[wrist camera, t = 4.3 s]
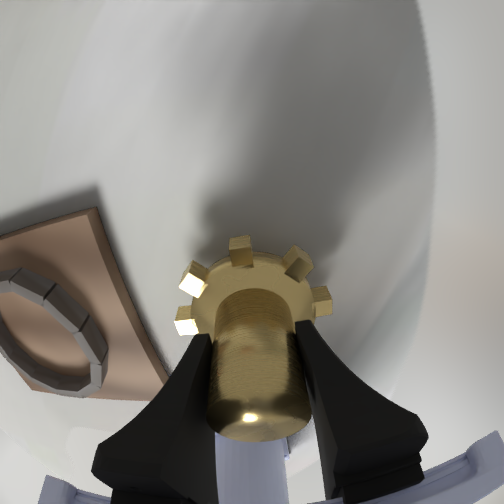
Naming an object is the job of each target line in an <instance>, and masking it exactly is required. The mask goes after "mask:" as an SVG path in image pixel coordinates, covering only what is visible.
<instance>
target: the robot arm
mask: <svg viewBox="0 0 504 504" xmlns="http://www.w3.org/2000/svg"><path fill="white" fill-rule="evenodd" d="M295 332H296V338H297V343H298V348H299V352H300V356H301V361H302V366H303V371H304V376H305V381H306V385H307V390H308V395H309V400H310V405H311V411H312V415H313V419H314V423H315V429H316V435H317V441H318V447H319V453H320V460H321V467H322V474H323V481H324V489H325V497H326V501H321V502H315V503H309V504H473V503H475V502H477V501H478V500H480V499H482V498H483V497H485V496H487V495H488V494H490V493H491V492H493V491H494V490H496V489H497V488H499V487H500V486H502V485H503V484H504V443H503V441H502V439H501V437H500V435H499V433H498V431H494V432H492V433H490V434H489V435H487V436H485V437H484V438H482V439H480V440H478V441H477V442H475V443H474V444H472V445H471V446H470V447H469V448H468V449H467V451H466V452H465V453H463V454H461V455H459V456H457V457H455V458H453V459H451V460H449V461H447V462H444V463H442V464H440V465H438V466H435V467H433V468H431V469H428V470H426V471H424V472H423V471H422V468H421V465H420V462H421V461H422V460H421V456H420V454H419V452H420V451H421V449H422V448H423V446H424V445H425V444H426V442H427V440H428V433H427V431H426V428H425V426H424V425H423V423H422V421H421V420H420V418H419V417H418V416H417V415H416V414H414V413H412V412H410V411H408V410H406V409H404V408H402V407H400V406H398V405H397V404H395V403H393V402H392V401H390V400H388V399H387V398H385V397H384V396H382V395H381V394H379V393H378V392H377V391H375V390H374V389H372V388H371V387H369V386H368V385H367V384H366V383H364V382H363V381H362V380H361V379H360V378H359V377H357V376H356V375H355V374H354V373H353V372H352V371H351V370H350V369H349V368H348V367H347V366H346V365H345V364H344V363H343V362H342V361H341V360H340V359H339V358H338V357H337V356H336V355H335V353H334V352H333V351H332V350H331V349H330V347H329V346H328V345H327V344H326V342H325V341H324V340H323V338H322V337H321V336H320V334H319V333H318V331H317V330H316V328H315V326H314V325H313V323H312V321H311V320H309V319H308V320H302V321H296V322H295ZM212 346H213V343H212V340H211V337H210V334H209V333H206V334H196V335H195V336H194V337H193V339H192V341H191V343H190V345H189V346H188V348H187V350H186V352H185V353H184V355H183V357H182V359H181V360H180V362H179V363H178V365H177V367H176V368H175V370H174V371H173V373H172V374H171V376H170V377H169V379H168V380H167V381H166V383H165V384H164V386H163V387H162V388H161V390H160V391H159V392H158V393H157V395H156V396H155V397H154V398H153V399H152V401H151V402H150V403H149V404H148V405H147V406H146V407H145V408H144V409H143V410H142V411H141V412H140V413H139V414H138V415H137V416H136V417H135V418H134V419H133V420H131V421H130V422H129V423H128V424H127V425H126V426H124V427H123V428H122V429H121V430H119V431H118V432H116V433H115V434H114V435H112V436H111V437H109V438H108V439H106V440H105V441H103V442H102V443H100V444H99V445H98V447H97V450H96V453H95V457H94V461H93V465H92V469H91V472H92V473H93V475H94V476H95V477H96V478H97V479H99V480H100V481H102V482H103V483H105V484H106V485H108V486H109V487H111V488H112V489H113V491H112V496H111V498H110V497H106V496H102V495H98V494H94V493H90V492H86V491H83V490H79V489H77V488H76V487H74V486H73V485H71V484H70V483H68V482H66V481H63V480H60V479H57V478H55V477H52V476H49V475H46V477H45V481H44V484H43V487H42V491H41V494H40V498H39V501H38V504H289V498H288V488H287V478H286V469H285V460H288V459H289V452H288V445H287V439H286V437H285V438H282V439H278V440H273V441H267V442H243V441H237V440H233V439H229V438H226V437H224V436H221V435H220V434H218V433H216V432H215V431H213V430H212V429H211V428H210V427H209V425H208V423H207V421H206V412H207V400H208V389H209V378H210V367H211V356H212Z"/></svg>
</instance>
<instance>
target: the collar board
mask: <svg viewBox="0 0 504 504" xmlns="http://www.w3.org/2000/svg"><path fill="white" fill-rule="evenodd" d="M0 352H1V354H2V355H3V357H4V358H7V359H6V360H7V361H8V362H9V363H10V364H11V365H12V366H13V367H14V368H15V369H16V371H17V372H18V373H19V375H20V376H21V377H22V378H23V380H24V381H25V382H26V383H27V385H28V386H29V387H30V388H31V390H34V391H40V392H47V393H53V394H57V395H58V394H59V395H61V396H69V397H77V398H84V397H85V398H86V397H87V398H99V399H113V400H135V401H152V399H153V398H154V397H155V396H156V395H157V393H158V392H159V391H160V390H161V388H162V387H163V386H164V384H165V383H166V381H167V380H168V379H169V377H168V375H167V373H166V372H165V370H164V368H163V366H162V364H161V362H160V360H159V358H158V356H157V354H156V352H155V350H154V348H153V346H152V344H151V342H150V340H149V338H148V336H147V334H146V332H145V330H144V328H143V326H142V323H141V321H140V319H139V317H138V315H137V312H136V310H135V308H134V306H133V303H132V301H131V299H130V296H129V294H128V292H127V289H126V287H125V284H124V282H123V279H122V277H121V274H120V272H119V269H118V267H117V264H116V262H115V259H114V256H113V254H112V251H111V248H110V245H109V243H108V240H107V237H106V234H105V231H104V228H103V225H102V222H101V219H100V216H99V213H98V210H97V207H94V208H90V209H86V210H82V211H79V212H75V213H72V214H68V215H65V216H61V217H58V218H55V219H51V220H48V221H45V222H42V223H38V224H35V225H32V226H29V227H26V228H23V229H20V230H17V231H14V232H11V233H8V234H5V235H2V236H0Z"/></svg>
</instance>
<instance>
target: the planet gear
mask: <svg viewBox="0 0 504 504" xmlns="http://www.w3.org/2000/svg"><path fill="white" fill-rule="evenodd" d="M229 254H230V256H227V257H225V258H223V259H221V260H219V261H217V262H216V263H214V264H213V265H212V266H210V267H209V268H208V269H207V268H205V267H204V266H202V265H200V264H199V263H197V262H195V261H194V260H192V261H191V263H190V264H189V266H188V267H187V269H186V270H185V271H184V273H183V276H182V279H181V282H180V285H179V287H180V288H181V289H183V290H185V291H186V292H188V293H190V294H192V295H193V301H192V305H190V306H181V307H178V311H177V315H176V318H175V324H176V326H177V329H178V331H179V334H180V335H185V334H206V333H209V334H210V337H211V340H212V343H213V346H212V356H211V367H210V378H209V389H208V400H207V412H206V421H207V423H208V425H209V427H210V428H211V429H212V430H213V431H215V432H216V433H218V434H220V435H221V436H224V437H226V438H229V439H233V440H237V441H243V442H267V441H273V440H278V439H282V438H285V437H288V436H290V435H292V434H294V433H296V432H298V431H300V430H301V429H302V428H304V427H305V426H306V425H307V424H308V422H309V421H310V419H311V416H312V411H311V405H310V400H309V395H308V390H307V385H306V381H305V376H304V371H303V366H302V361H301V356H300V352H299V348H298V343H297V338H296V332H295V322H296V321H302V320H308V319H309V320H311V321H312V323H313V325H314V322H315V317H319V316H324V315H330V314H332V298H331V295H330V293H329V291H328V288H327V286H321V287H315V288H310V286H309V283H308V281H307V279H306V276H307V274H308V273H309V272H310V271H311V270H312V269H313V268H314V266H313V263H312V261H311V259H310V256H309V254H307V253H306V252H304V251H303V250H302V249H300V248H299V247H297V246H296V245H293V246H292V247H291V249H290V250H289V251H288V252H287V253H286V254H285V256H284V257H283V258H282V257H280V256H277V255H274V254H271V253H266V252H253V251H252V245H251V239H250V235H246V236H239V237H233V238H230V241H229Z"/></svg>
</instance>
